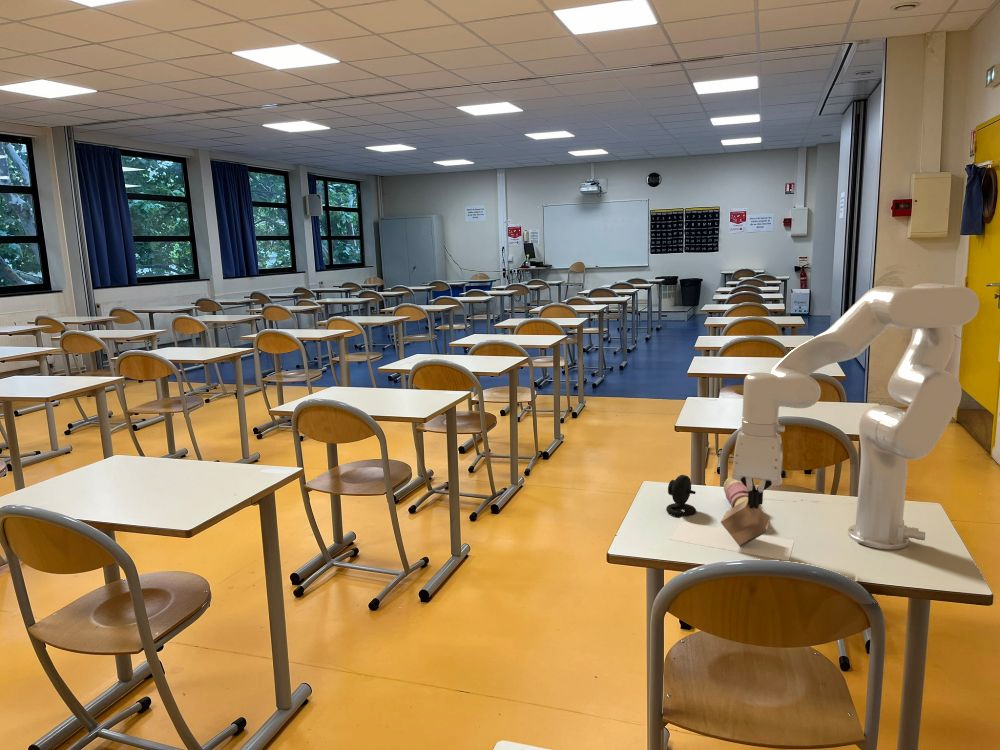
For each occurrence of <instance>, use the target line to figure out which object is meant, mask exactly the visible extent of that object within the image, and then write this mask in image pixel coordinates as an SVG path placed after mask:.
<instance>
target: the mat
mask: <svg viewBox="0 0 1000 750" xmlns="http://www.w3.org/2000/svg"><path fill="white" fill-rule="evenodd" d="M669 540H670V541H675V542H681V543H687V544H693V545H698V546H704V547H709V548H713V549H714V548H715V549H721V550H727V551H731V552H736V553H737V552H738V553H741V554H748V555H754V556H759V557H764V558H768V559H769V558H770V559H776V560H780V559H781V560H782V561H786V560H789V561H790V558H791V554H792V550H793V547H794V543H795V539H788V538H784V537H777V536H772V535H765V534H762V535H761V536H759V537H757V538H756V539H754V540H752V541H751V542H749V543H747V544H745V545H744V546H742V547H740V546H739V545H738V544H737V543H736V541H735V540H734V539H733V537H732V536H731V535H730V534H729V532H728V531H727V530H726V529H725V527H718V526H712V525H707V524H705V525H704V524H700V523H693V522H688V521H687V522H686V521H681V523H680V524H679V525H678V527H677V528H676V530H675V531H674V532H673V534H672V535H671V537H670V538H669Z"/></svg>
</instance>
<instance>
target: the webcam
mask: <svg viewBox="0 0 1000 750" xmlns="http://www.w3.org/2000/svg"><path fill="white" fill-rule="evenodd" d="M667 493H668V495H669V496H672V501H673V502H674V503H670V504H668V505H667V506H666V509H665V511H666V512H667V514H669V515H671V516H674V517H678V518H682V517H692V516H694V515H695V514H696V513H697V510H696V508H695V507H694V506H693V505H691V504H688V503H687V501H688V500H689V499H690V495H696V493H697V492H696V491H695V490H692V481H691V478H690V477H689V476H688V475H685V474H680V475H679V476H677V477H676V479H671V480H670V482H669V483H668V487H667ZM675 508H676V509H679V510H680V511H679V510H676V509H675ZM681 510H682V511H681Z"/></svg>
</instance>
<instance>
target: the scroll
mask: <svg viewBox="0 0 1000 750" xmlns="http://www.w3.org/2000/svg"><path fill="white" fill-rule="evenodd" d="M723 491H724V494H725V498H726V500H727V501H728V503H729V504H730V506H731V508H730V509H732V508H733V507H735V506H736V505H738V504H740V503H741V502H743V501H744V500H746V499H748V490H747V488H746V486H745V485H744V484H743V483H742V482H741V481H738V480H735V479H733V478H732V476H730V477H728V478H726V479H725V481H724V483H723ZM759 508H760V509H761V511H762V512H763V510H762V508H761V506H760V505H759Z"/></svg>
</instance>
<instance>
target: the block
mask: <svg viewBox="0 0 1000 750" xmlns="http://www.w3.org/2000/svg"><path fill="white" fill-rule="evenodd" d="M750 504H751V503H748V499H746V500H744V501H743V502H741V503H740V504H738V505H736V506H735V507H733V508H730V509H729V510H727V511H726V512H725V514H724V515H723V517H722V518H721V520H720V524H721V525H722V526H723V528H724V529H726V530H727V531H728V532H729V534H730V535H731V536H732V537H733V539H734V540H735V541H736V543H737V544H738V545H739V546H740V547H742V546H744V545H745V544H747V543H749V542H751V541H752V540H754V539H756V538H757V537H759V536H761V535H765V534H766V533H767V531H768V528H769V525H770V524H771V523H770V522H771V521H770V519H769V518H768V517H767V515H766V514H765V513H764V511H763V510H762V508H761V507H760V508H761V509H760V508H759V507H758V509H755V508H750ZM754 507H755V506H754ZM761 510H762V511H761Z"/></svg>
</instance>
